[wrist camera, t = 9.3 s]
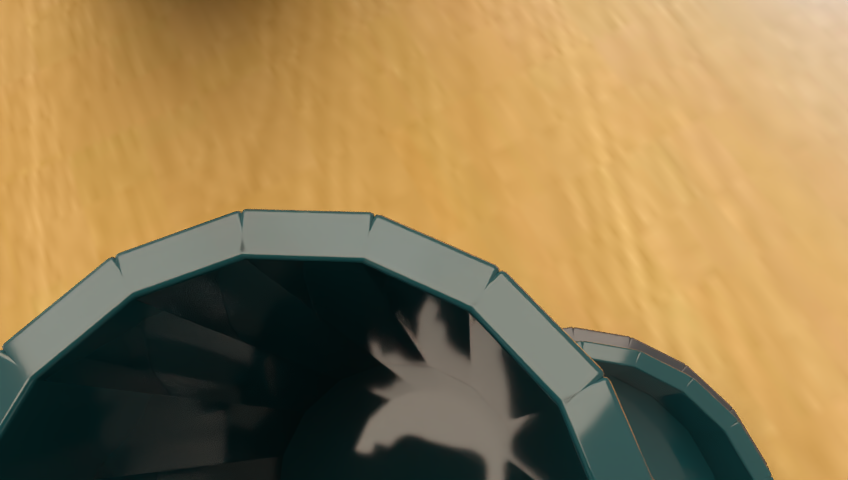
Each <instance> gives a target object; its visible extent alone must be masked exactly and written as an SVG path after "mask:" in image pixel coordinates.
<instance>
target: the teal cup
mask: <svg viewBox="0 0 848 480" xmlns="http://www.w3.org/2000/svg"><path fill="white" fill-rule="evenodd" d="M2 348H3V350H0V480H653V478H652V475H651V473H650V471H649V468H648V466H647V464H646V462H645V459H644V457H643V455H642V452H641V450H640V448H639V445H638V443H637V441H636V439H635V436H634V434H633V432H632V429H631V427H630V425H629V422H628V420H627V418H626V416H625V413H624V411H623V409H622V406H621V404H620V402H619V399H618V397H617V395H616V393H615V390H614V388H613V386H612V383H611V381H610V380H609V379H608V378H607V377H604V372H603V370H602V369H601V368H600V367H599V366H598V365H597V364H596V362H595V361H594V360H593V359H592V358H591V357H590V356H589V355H588V354H587V353H586V352H585V351H584V350H583V349H582V348H581V347H580V346H579V345H578V344H577V343H576V342H575V341H574V340H573V339H572V338H571V337H570V336H569V335H568V334H567V333H566V332H565V331H564V330H563V329H562V328H561V327H560V326H559V325H558V324H557V323H556V322H555V321H554V320H553V319H552V318H551V317H550V316H549V315H548V314H547V313H546V312H545V311H544V310H543V309H542V308H541V307H540V306H539V305H538V304H537V303H536V302H535V301H534V300H533V299H532V298H531V296H530V295H529V294H528V293H527V292H526V291H525V290H524V289H523V288H522V287H521V286H520V285H519V284H518V283H517V282H516V281H515V280H514V279H513V278H512V277H511V276H510V275H509V274H508V273H507V272H505V271H499V268H498V267H497V266H496V265H495V264H493V263H490V262H488V261H486V260H484V259H481V258H479V257H477V256H474V255H472V254H470V253H467V252H465V251H463V250H461V249H458V248H456V247H454V246H451V245H449V244H447V243H445V242H442V241H440V240H438V239H435V238H433V237H431V236H428V235H426V234H424V233H422V232H419V231H417V230H415V229H412V228H410V227H408V226H405V225H403V224H401V223H399V222H396V221H394V220H392V219H389V218H387V217H385V216H382V215H376V216H375V215H374V214H373V213H371V212H345V211H307V210H268V209H245V210H243V212H241V211H236V212H233V213H230V214H227V215H224V216H221V217H219V218H216V219H213V220H210V221H207V222H205V223H202V224H199V225H196V226H193V227H191V228H188V229H185V230H182V231H179V232H177V233H174V234H171V235H168V236H165V237H163V238H160V239H157V240H154V241H151V242H149V243H146V244H143V245H140V246H137V247H135V248H132V249H129V250H126V251H123V252H121V253H118V254H117V255H116V257H111V258H108V259H107V260H106V261H105V262H103V263H102V264H101V265H100V266H98V267H97V268H96V269H95V270H94V271H92V272H91V273H90V274H89V275H87V276H86V277H85V278H84V279H83V280H81V281H80V282H79V283H78V284H76V285H75V286H74V287H73V288H71V289H70V290H69V291H68V292H67V293H65V294H64V295H63V296H62V297H60V298H59V299H58V300H57V301H56V302H54V303H53V304H52V305H51V306H49V307H48V308H47V309H46V310H45V311H43V312H42V313H41V314H40V315H38V316H37V317H36V318H35V319H34V320H32V321H31V322H30V323H29V324H27V325H26V326H25V327H24V328H23V329H21V330H20V331H19V332H18V333H16V334H15V335H14V336H13V337H12V338H10V339H9V340H8V341H7V342H5V343H4V345H3V346H2Z"/></svg>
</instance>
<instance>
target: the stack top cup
mask: <svg viewBox="0 0 848 480" xmlns="http://www.w3.org/2000/svg"><path fill="white" fill-rule="evenodd" d="M575 342H576V343H577V344H578V345H579V346H580V347H581V348H582V349H583V350H584V351H585V352H586V353H587V354H588V355H589V356H590V357H591V358H592V359H593V360H594V361H595V362H596V364H597V365H598V366H599V367H600V368H601V369H602V370H603V372H604V377H607V378H608V379H609V380H610V381H611V383H612V386H613V388H614V390H615V393H616V395H617V397H618V399H619V402H620V404H621V406H622V409H623V411H624V413H625V416H626V418H627V420H628V422H629V425H630V427H631V429H632V432H633V434H634V436H635V439H636V441H637V443H638V445H639V448H640V450H641V452H642V455H643V457H644V459H645V462H646V464H647V466H648V468H649V471H650V473H651V475H652V477H653V478H654V480H774V479H773V477H771V476H772V475H771V472H770V471H769V469H768V467H767V466H766V464H765V463H764V461H763V459H762V458H761V456H760V454H759V453H758V451H757V449H756V448H755V446H754V444H753V443H752V441H751V439H750V438H749V436H748V434H747V433H746V431H745V430H744V428H743V426H742V425H741V423H740V422H739V421H738V419H737V418H736V417H735V416H734V415H733V414H732V413H731V412H730V411H729V410H728V409H727V408H726V407H724V406H723V405H722V404H721V403H720V402H719V401H718V400H717V399H716V398H715V397H714V396H713V395H712V394H710V393H709V392H708V391H707V390H706V389H705V388H704V387H703V386H702V385H701V384H700V383H699V382H698V381H696V380H695V379H694V378H692V377H691V376H690V375H688V374H686V373H684V372H682V371H680V370H678V369H676V368H674V367H672V366H670V365H668V364H666V363H664V362H662V361H660V360H658V359H656V358H654V357H652V356H650V355H648V354H646V353H644V352H642V351H638V350H636V349H630V348H624V347H618V346H612V345H607V344H601V343H595V342H589V341H575Z"/></svg>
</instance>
